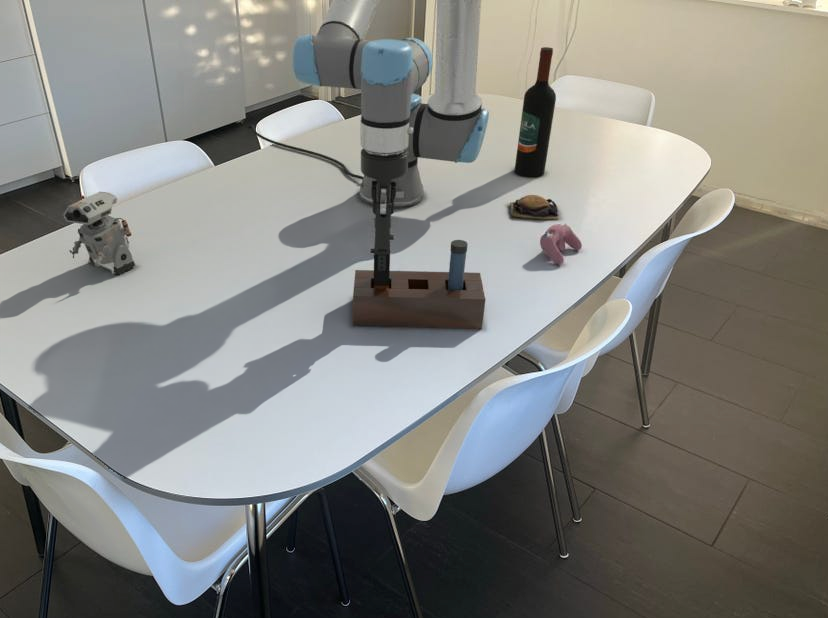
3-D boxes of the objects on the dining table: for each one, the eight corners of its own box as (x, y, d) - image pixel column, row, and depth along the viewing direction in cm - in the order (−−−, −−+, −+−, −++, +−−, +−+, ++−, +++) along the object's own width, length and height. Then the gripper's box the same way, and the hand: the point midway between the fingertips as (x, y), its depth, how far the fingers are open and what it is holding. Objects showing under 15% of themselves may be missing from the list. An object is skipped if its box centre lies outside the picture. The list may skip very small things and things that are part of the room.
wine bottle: (546, 177, 185) (566, 52, 168) (516, 177, 185) (533, 52, 168) (541, 167, 191) (559, 45, 174) (512, 166, 191) (527, 44, 174)
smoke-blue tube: (441, 314, 131) (447, 243, 123) (451, 308, 133) (457, 238, 125) (454, 319, 130) (461, 248, 122) (463, 313, 131) (471, 243, 123)
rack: (355, 298, 136) (355, 269, 132) (476, 301, 135) (480, 272, 132) (352, 325, 128) (352, 296, 125) (481, 329, 127) (485, 299, 124)
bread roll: (511, 219, 165) (513, 203, 163) (509, 203, 172) (511, 189, 170) (559, 221, 164) (562, 205, 162) (555, 205, 171) (558, 190, 169)
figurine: (65, 273, 144) (47, 202, 135) (113, 252, 151) (99, 183, 143) (94, 287, 139) (77, 214, 131) (142, 265, 147) (129, 194, 138)
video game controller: (564, 251, 155) (555, 220, 153) (584, 248, 152) (575, 216, 150) (542, 268, 149) (533, 236, 147) (563, 265, 145) (553, 232, 143)
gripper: (409, 166, 108) (403, 303, 122) (407, 132, 121) (402, 259, 134) (358, 166, 108) (358, 302, 122) (362, 131, 121) (361, 259, 135)
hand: (381, 279), depth 128 cm, fingers closed on amber tube, 2 cm apart
